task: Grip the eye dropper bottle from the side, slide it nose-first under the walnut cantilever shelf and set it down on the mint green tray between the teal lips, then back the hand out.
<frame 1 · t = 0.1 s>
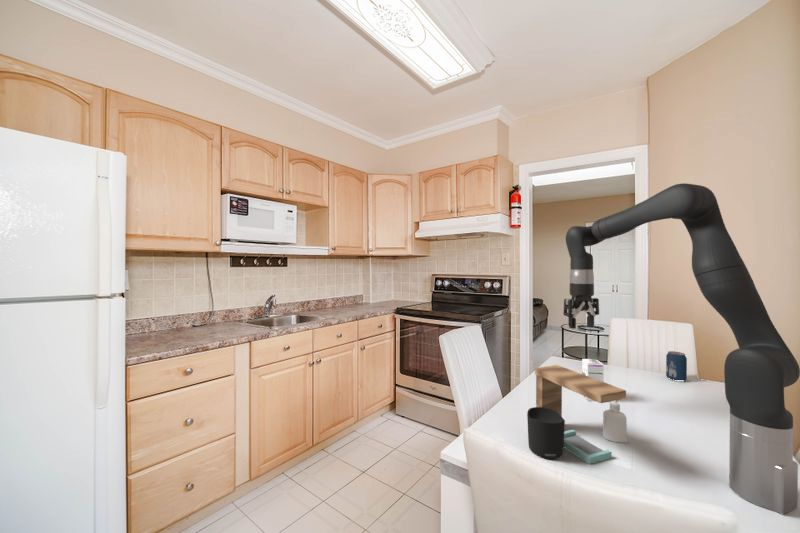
hand: (581, 327, 112), 29 cm above the table, tool pointing down, fingers open, 8 cm apart
mint green tray: (581, 447, 88), on the table
eye dropper bottle: (614, 440, 92), on the table
syrup box: (592, 398, 121), on the table
shelf: (575, 444, 90), on the table
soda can: (676, 380, 141), on the table
pen holder: (545, 451, 87), on the table
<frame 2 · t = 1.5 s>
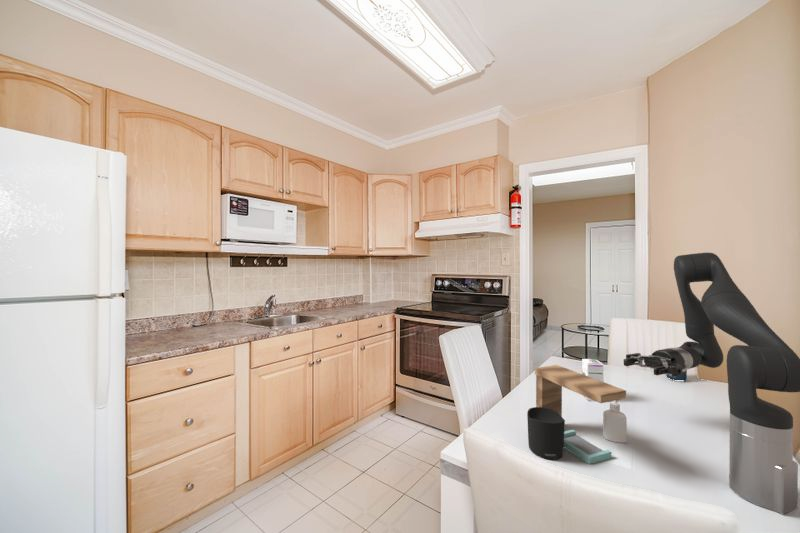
hand: (639, 367, 96), 20 cm above the table, tool horizontal, fingers open, 8 cm apart
nothing on the table moved.
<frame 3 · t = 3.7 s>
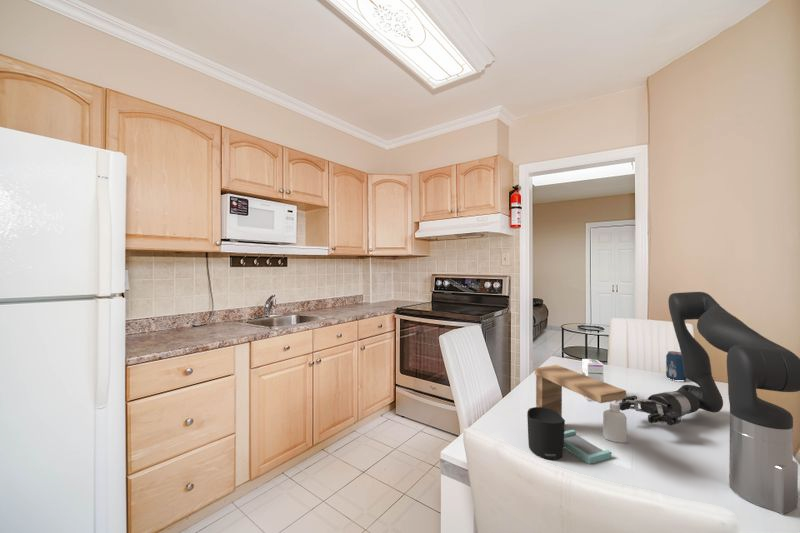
hand: (634, 412, 95), 7 cm above the table, tool horizontal, fingers open, 8 cm apart
nothing on the table moved.
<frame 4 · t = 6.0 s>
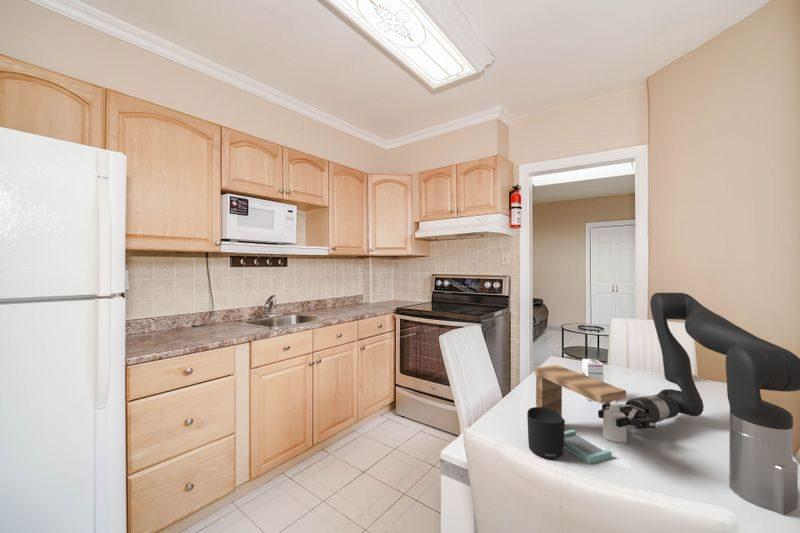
hand: (608, 418, 91), 7 cm above the table, tool horizontal, fingers closed on eye dropper bottle, 5 cm apart
eye dropper bottle: (614, 440, 92), on the table, touching gripper
everything else where it was.
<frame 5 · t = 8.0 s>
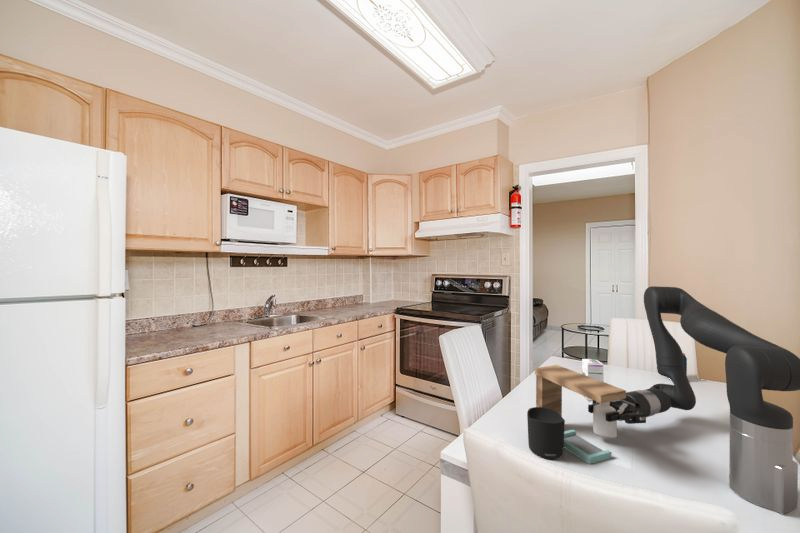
hand: (598, 413, 90), 9 cm above the table, tool horizontal, fingers closed on eye dropper bottle, 5 cm apart
eye dropper bottle: (604, 434, 91), point 2 cm above the table, touching gripper
everything else where it was.
when the fingers open (8 cm above the table, at t = 10.3 s): eye dropper bottle stays where it is, resting on mint green tray.
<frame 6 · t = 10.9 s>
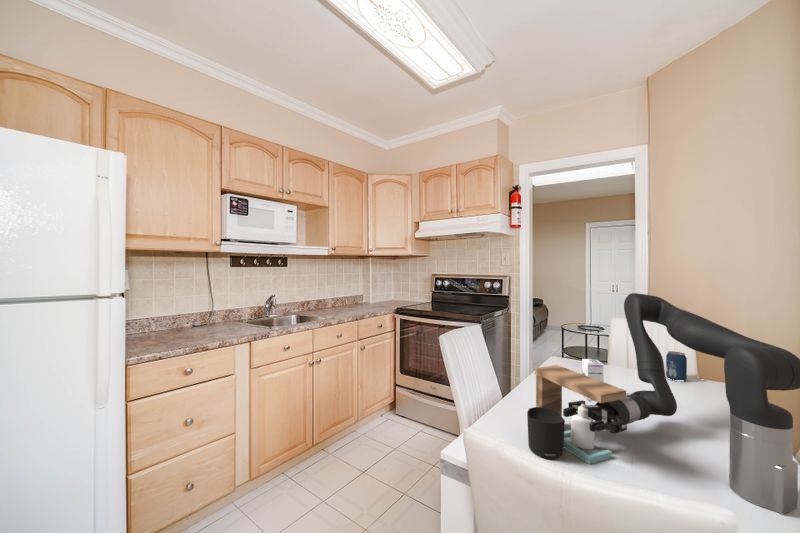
hand: (576, 419, 87), 8 cm above the table, tool horizontal, fingers open, 8 cm apart
eye dropper bottle: (582, 446, 88), resting on mint green tray
everything else where it was.
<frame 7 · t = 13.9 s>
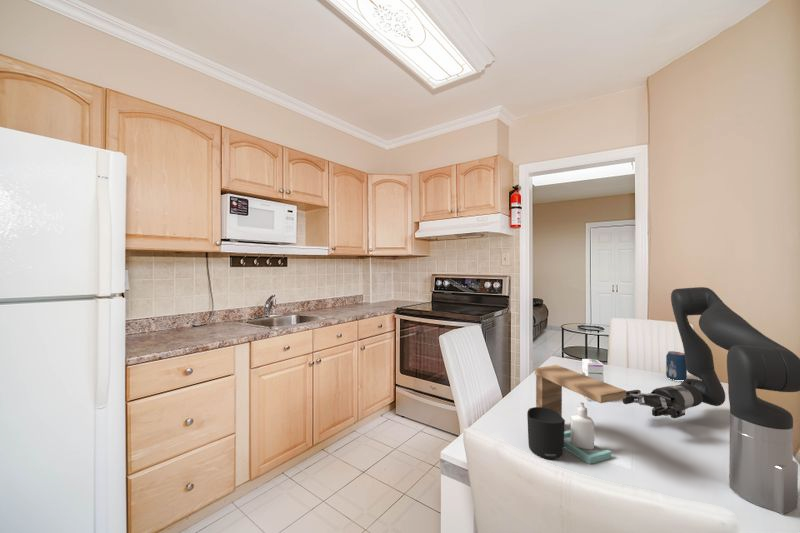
hand: (638, 406, 96), 8 cm above the table, tool horizontal, fingers open, 8 cm apart
nothing on the table moved.
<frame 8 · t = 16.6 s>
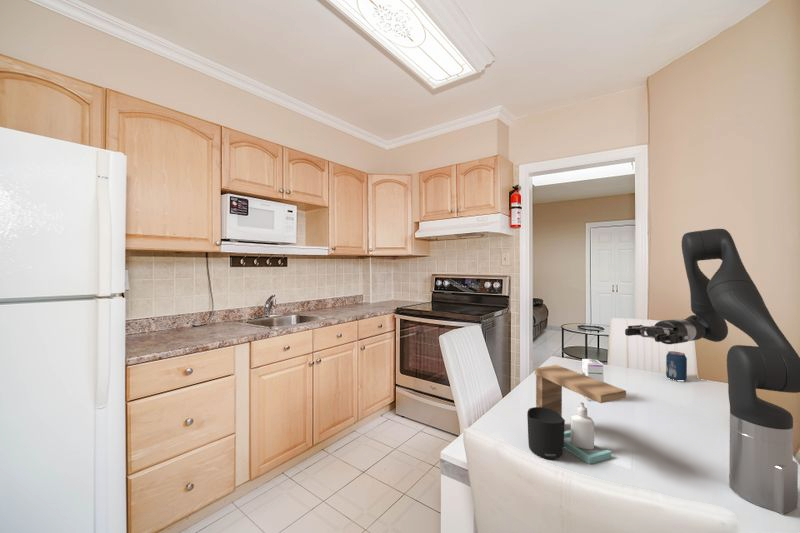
hand: (640, 335, 96), 30 cm above the table, tool horizontal, fingers open, 8 cm apart
nothing on the table moved.
at the end: eye dropper bottle inside the target area on the mint green tray (0.1 cm from its centre), point 0.4 cm above the mint green tray's base; eye dropper bottle tilted 0°; the gripper is holding nothing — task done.
